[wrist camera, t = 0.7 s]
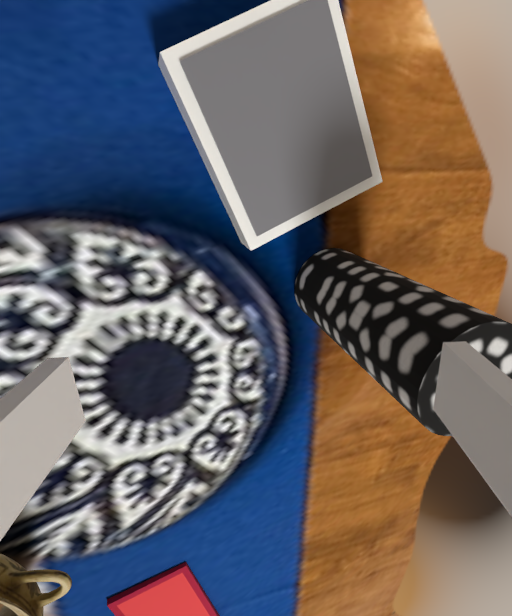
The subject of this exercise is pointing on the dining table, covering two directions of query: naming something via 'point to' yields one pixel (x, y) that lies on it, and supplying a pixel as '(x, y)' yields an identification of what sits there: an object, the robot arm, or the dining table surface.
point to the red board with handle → (164, 596)
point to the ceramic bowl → (27, 588)
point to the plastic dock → (275, 114)
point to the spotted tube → (396, 326)
